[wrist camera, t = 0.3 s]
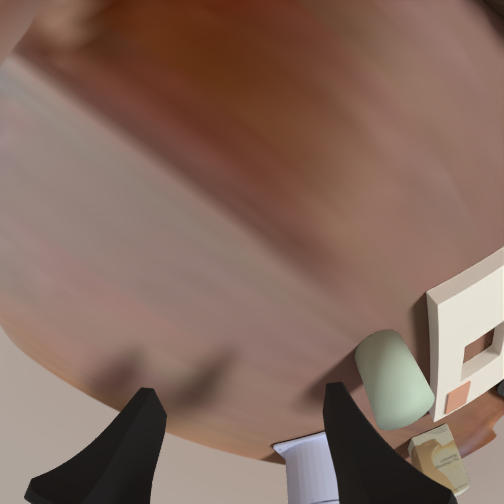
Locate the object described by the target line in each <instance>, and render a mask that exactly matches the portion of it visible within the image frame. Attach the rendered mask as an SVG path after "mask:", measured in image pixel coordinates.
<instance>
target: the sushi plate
mask: <svg viewBox="0 0 504 504" xmlns="http://www.w3.org/2000/svg"><path fill="white" fill-rule="evenodd" d="M497 392H498V394H500V395H501V396H503V397H504V379H503V380H501V381H500V382H499V383H498V385H497Z"/></svg>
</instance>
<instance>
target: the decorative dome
mask: <svg viewBox="0 0 504 504" xmlns="http://www.w3.org/2000/svg"><path fill="white" fill-rule="evenodd" d="M484 1H485V2H486V3H488V4H489V5H490V6H491V7H492V8H493V9H495V10H496V11H497V12H498V13H499V14H500V15H501V16H502V17H503V18H504V0H484Z"/></svg>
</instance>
